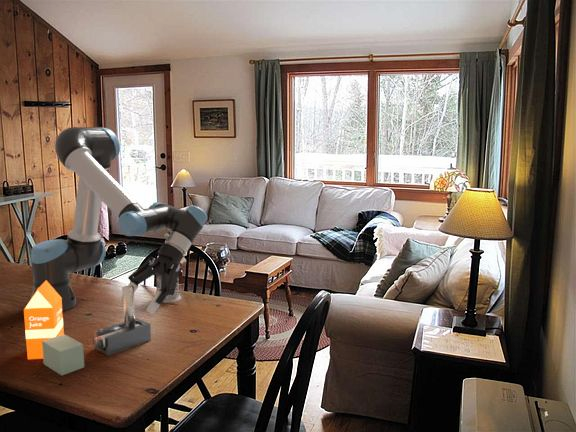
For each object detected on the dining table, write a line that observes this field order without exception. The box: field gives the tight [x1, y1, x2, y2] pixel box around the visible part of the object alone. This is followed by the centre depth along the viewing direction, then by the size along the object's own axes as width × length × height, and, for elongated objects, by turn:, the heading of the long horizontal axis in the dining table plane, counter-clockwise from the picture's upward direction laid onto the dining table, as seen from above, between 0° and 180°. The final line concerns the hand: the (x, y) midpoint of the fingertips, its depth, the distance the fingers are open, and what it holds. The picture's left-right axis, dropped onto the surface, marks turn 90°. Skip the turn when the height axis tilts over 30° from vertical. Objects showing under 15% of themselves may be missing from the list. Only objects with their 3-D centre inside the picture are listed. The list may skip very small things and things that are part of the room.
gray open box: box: [93, 317, 152, 357], centre depth 150 cm, size 14×7×5 cm, turn 141°
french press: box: [156, 233, 182, 304], centre depth 188 cm, size 10×12×25 cm
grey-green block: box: [42, 333, 85, 376], centre depth 136 cm, size 6×10×7 cm, turn 51°
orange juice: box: [23, 280, 65, 360], centre depth 143 cm, size 8×9×20 cm
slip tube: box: [92, 285, 140, 351], centre depth 147 cm, size 14×4×16 cm, turn 141°
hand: (135, 307), depth 151 cm, fingers open, 13 cm apart
